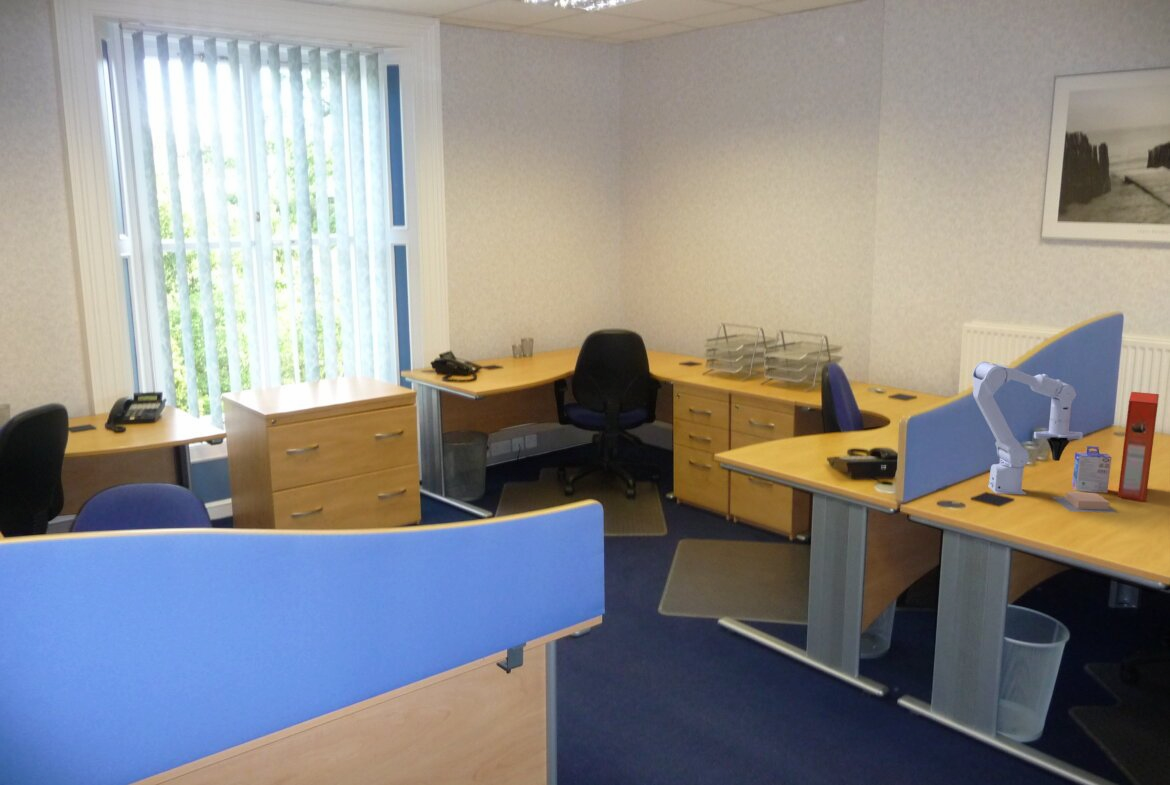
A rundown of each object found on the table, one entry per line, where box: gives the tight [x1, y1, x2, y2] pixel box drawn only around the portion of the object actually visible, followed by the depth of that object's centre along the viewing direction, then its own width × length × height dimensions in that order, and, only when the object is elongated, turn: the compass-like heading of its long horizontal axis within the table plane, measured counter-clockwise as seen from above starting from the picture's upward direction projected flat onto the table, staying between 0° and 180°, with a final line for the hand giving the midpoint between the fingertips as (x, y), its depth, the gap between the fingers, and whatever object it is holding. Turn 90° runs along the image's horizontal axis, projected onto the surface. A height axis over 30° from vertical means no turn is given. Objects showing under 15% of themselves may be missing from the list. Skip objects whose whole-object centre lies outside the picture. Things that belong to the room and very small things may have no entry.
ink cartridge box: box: [1071, 445, 1112, 494], centre depth 304 cm, size 10×6×14 cm, turn 78°
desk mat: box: [1051, 496, 1118, 514], centre depth 290 cm, size 14×14×1 cm
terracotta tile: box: [1065, 491, 1110, 510], centre depth 289 cm, size 3×9×9 cm
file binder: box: [1117, 391, 1160, 503], centre depth 299 cm, size 8×17×32 cm, turn 148°
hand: (1055, 460), depth 302 cm, fingers closed
